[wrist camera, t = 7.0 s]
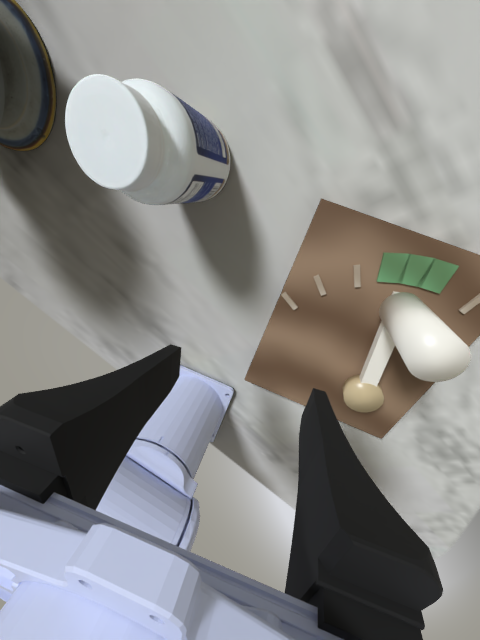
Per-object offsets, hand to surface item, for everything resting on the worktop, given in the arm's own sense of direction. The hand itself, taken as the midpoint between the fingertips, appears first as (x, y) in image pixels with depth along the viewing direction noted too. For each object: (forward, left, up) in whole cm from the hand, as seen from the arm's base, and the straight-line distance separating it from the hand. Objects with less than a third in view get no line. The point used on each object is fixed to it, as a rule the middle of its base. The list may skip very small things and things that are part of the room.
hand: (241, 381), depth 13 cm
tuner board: (+1, -7, -10) cm, 13 cm away
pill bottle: (+9, +9, -11) cm, 16 cm away
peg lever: (0, -9, -9) cm, 13 cm away
